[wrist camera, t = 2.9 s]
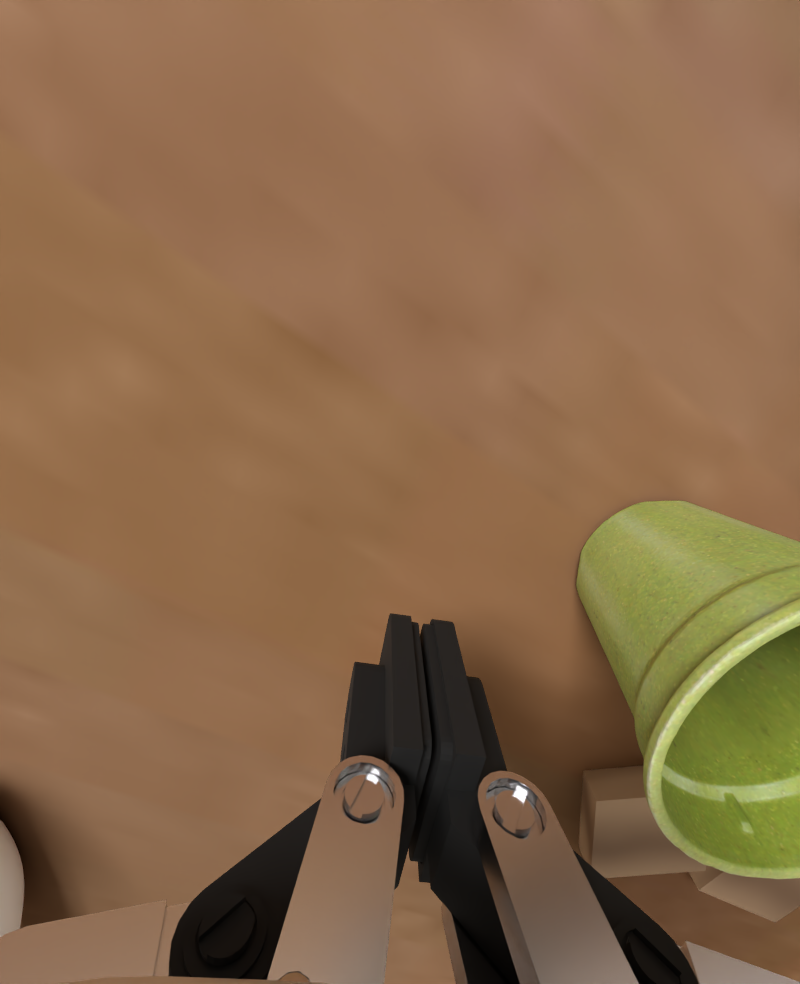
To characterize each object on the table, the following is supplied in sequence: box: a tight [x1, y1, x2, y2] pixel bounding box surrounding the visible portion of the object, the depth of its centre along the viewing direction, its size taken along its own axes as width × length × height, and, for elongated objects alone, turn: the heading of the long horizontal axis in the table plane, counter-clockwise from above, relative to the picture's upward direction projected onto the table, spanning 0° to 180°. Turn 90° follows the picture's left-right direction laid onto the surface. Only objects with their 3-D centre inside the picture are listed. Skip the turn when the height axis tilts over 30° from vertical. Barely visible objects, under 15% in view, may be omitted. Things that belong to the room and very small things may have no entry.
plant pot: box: [576, 501, 800, 879], centre depth 14 cm, size 9×9×9 cm
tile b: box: [689, 866, 800, 923], centre depth 24 cm, size 6×6×2 cm
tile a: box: [579, 765, 707, 878], centre depth 23 cm, size 6×6×2 cm
